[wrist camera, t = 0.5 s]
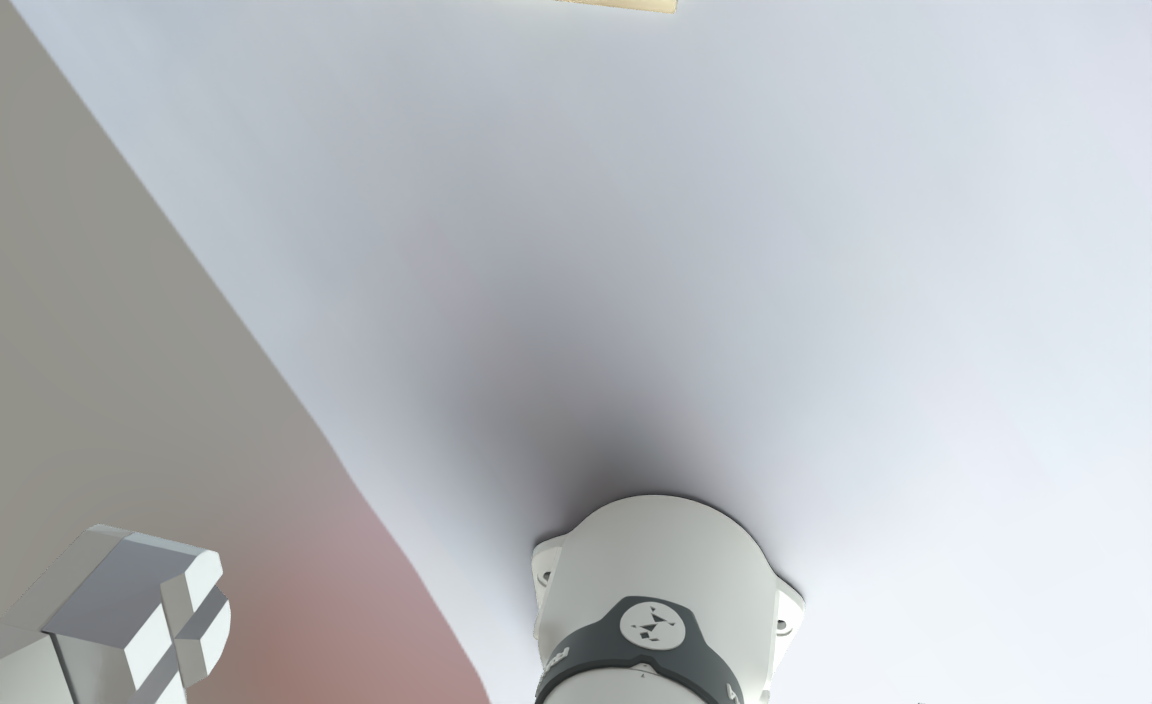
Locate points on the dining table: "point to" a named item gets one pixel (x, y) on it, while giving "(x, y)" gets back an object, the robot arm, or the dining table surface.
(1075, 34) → the dining table surface
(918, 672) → the dining table surface
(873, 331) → the dining table surface
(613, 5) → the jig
